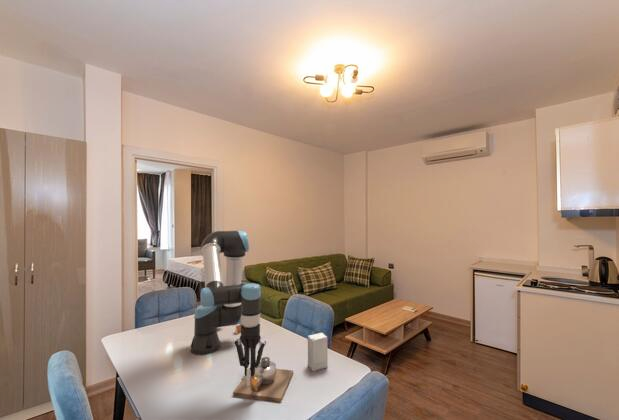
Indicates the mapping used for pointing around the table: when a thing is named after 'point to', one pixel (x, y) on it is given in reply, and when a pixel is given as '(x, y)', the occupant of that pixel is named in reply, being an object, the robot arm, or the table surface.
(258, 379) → the silver round pot
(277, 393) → the brown wooden board
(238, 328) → the whisky bottle
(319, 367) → the skincare box
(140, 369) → the table surface
